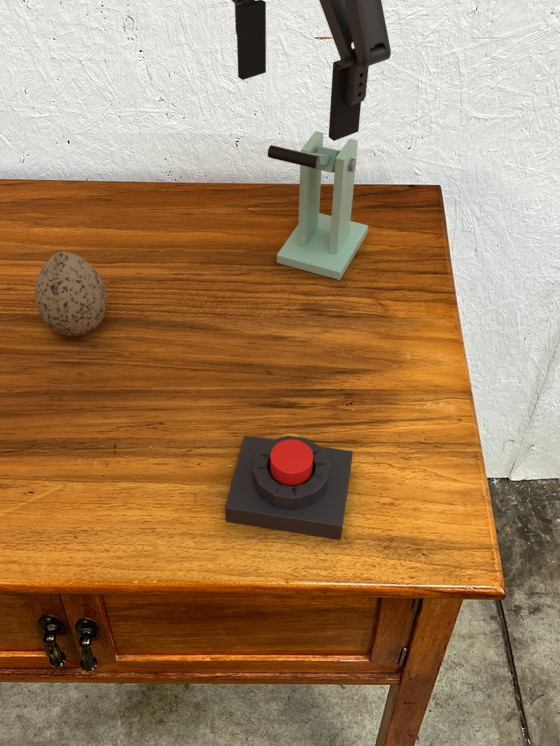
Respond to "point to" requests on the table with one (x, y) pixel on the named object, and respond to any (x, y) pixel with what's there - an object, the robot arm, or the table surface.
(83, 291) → the decorative egg
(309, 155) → the lever
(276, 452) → the button
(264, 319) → the table surface
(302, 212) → the bracket
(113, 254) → the table surface
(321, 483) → the control block
